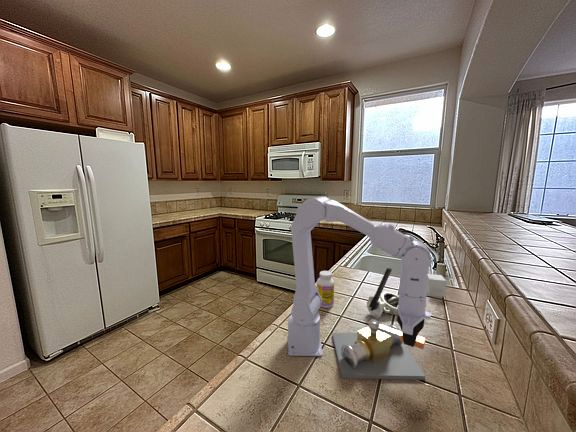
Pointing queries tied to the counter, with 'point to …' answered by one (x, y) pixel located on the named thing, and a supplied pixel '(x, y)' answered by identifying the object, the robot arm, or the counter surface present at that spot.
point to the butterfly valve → (383, 300)
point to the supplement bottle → (326, 289)
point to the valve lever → (394, 333)
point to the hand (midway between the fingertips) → (408, 344)
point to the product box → (436, 285)
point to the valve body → (369, 346)
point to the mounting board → (378, 362)
